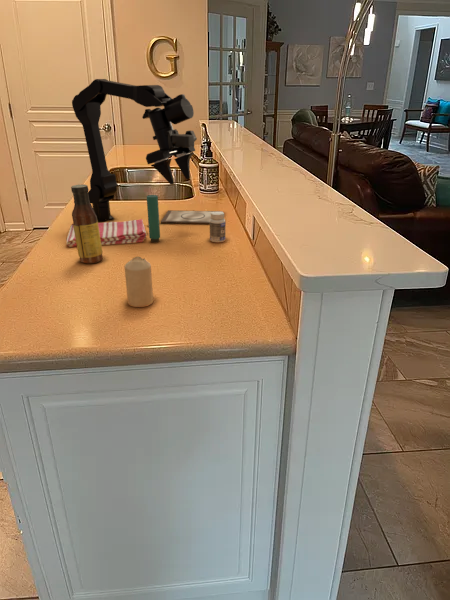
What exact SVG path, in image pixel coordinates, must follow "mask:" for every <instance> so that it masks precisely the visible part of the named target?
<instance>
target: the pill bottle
mask: <svg viewBox="0 0 450 600" xmlns="http://www.w3.org/2000/svg"><path fill="white" fill-rule="evenodd" d="M215 211H216V212H212V213H211V218H212V219H210V224H209V241H210V242H212V243H223V242H225V241H226V239H227V237H226V236H227V235H226V231H227V229H226V219H225V216H226V215H225V212H224V211H223V212H219V211H220V210H215Z"/></svg>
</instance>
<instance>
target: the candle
mask: <svg viewBox="0 0 450 600" xmlns="http://www.w3.org/2000/svg"><path fill="white" fill-rule="evenodd" d="M152 275H153V274H152V264H151V262H150V261H148V260H147V259H145V258H142V257H141V256H134V257H133V258H131V259H130V260H129V261H127V262H126V263H125V265H124V277H125V287H126V297H127V304H128V306H131V307H134V308H143V307H147V306H148V307H149V306H150V305H152V304H153V302H154V292H153V290H154V289H153V288H154V287H153V276H152Z"/></svg>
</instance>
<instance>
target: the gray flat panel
mask: <svg viewBox="0 0 450 600" xmlns="http://www.w3.org/2000/svg"><path fill="white" fill-rule="evenodd" d="M216 211H217V210H170V209H169V210H167V212H166V213H165V215H164V216H163V218H161V220H160V224H164V225H165V224H167V225H168V224H169V225H171V224H172V225H210V219H212V218H211V213H212V212H216ZM218 211H219V212H224V211H223V210H221V211H220V210H218Z"/></svg>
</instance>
